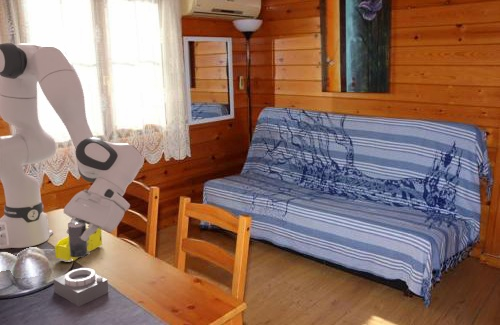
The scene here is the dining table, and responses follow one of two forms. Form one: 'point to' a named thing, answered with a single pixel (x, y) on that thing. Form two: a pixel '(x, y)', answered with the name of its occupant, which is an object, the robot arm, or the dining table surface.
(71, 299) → the camera body
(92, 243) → the yellow toy chassis
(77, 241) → the dark grey peg
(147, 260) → the dining table surface
